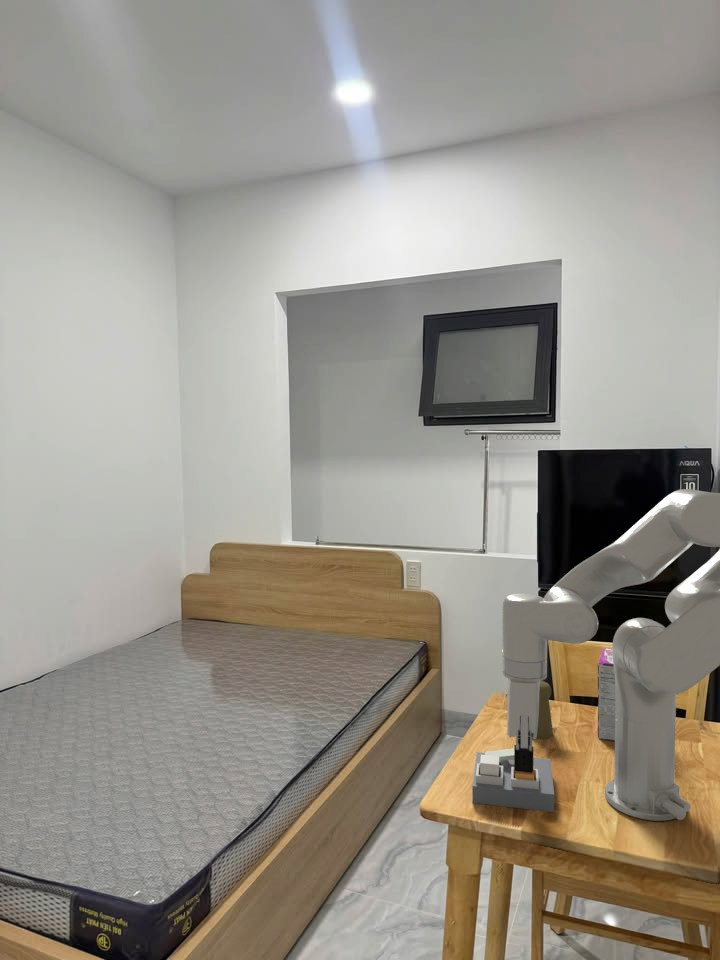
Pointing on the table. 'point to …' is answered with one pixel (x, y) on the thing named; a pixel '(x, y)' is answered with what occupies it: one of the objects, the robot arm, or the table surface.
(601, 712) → the candy bar box
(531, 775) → the orange button
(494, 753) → the block
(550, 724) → the cork
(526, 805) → the switch panel
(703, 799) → the table surface
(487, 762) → the cream button
